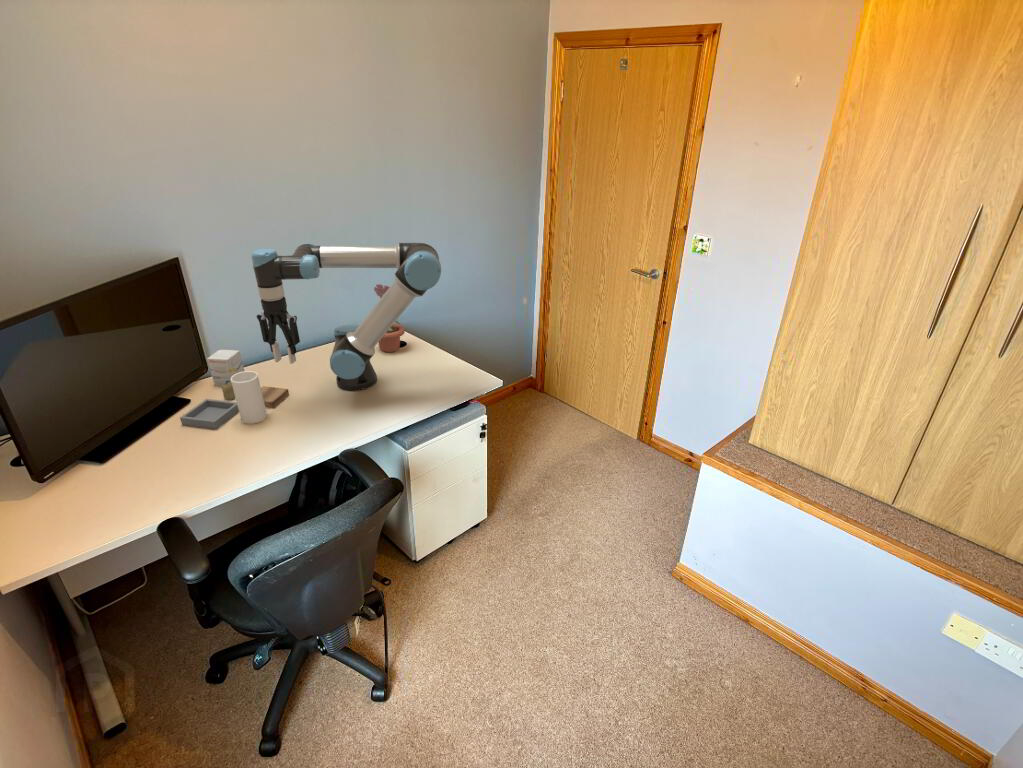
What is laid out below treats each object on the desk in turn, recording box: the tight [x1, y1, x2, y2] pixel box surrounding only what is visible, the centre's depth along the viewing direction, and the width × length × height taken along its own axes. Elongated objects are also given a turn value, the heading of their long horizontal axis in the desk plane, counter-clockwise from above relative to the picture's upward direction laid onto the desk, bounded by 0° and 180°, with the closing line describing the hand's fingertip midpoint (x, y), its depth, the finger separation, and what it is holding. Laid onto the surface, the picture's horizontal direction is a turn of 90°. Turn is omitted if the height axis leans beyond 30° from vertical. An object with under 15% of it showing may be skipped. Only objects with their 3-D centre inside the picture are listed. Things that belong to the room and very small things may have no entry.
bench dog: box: [221, 381, 236, 401], centre depth 198 cm, size 3×6×5 cm, turn 169°
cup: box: [231, 370, 268, 425], centre depth 183 cm, size 8×8×16 cm
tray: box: [179, 398, 239, 431], centre depth 185 cm, size 13×13×3 cm
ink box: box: [206, 349, 245, 387], centre depth 207 cm, size 8×8×12 cm
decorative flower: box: [373, 283, 405, 353], centre depth 231 cm, size 15×14×30 cm
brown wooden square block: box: [261, 385, 290, 409], centre depth 197 cm, size 10×10×3 cm
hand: (285, 361), depth 188 cm, fingers open, 5 cm apart
